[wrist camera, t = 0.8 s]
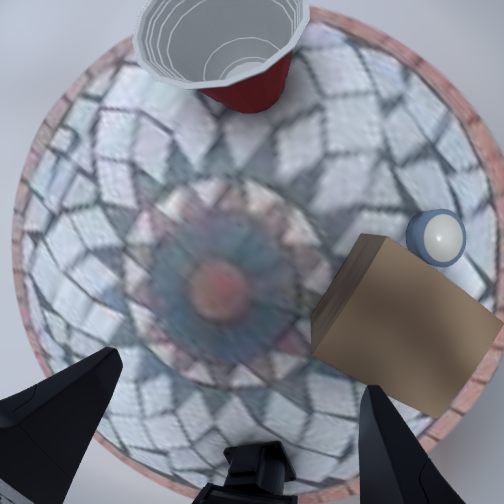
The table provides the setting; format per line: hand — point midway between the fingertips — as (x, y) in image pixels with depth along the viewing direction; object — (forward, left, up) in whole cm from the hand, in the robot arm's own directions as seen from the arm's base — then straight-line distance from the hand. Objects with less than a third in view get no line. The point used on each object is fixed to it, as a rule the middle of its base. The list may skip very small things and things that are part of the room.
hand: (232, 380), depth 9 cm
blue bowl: (0, -14, -16) cm, 21 cm away
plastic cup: (+17, -4, -16) cm, 24 cm away
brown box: (-5, -8, -16) cm, 19 cm away
